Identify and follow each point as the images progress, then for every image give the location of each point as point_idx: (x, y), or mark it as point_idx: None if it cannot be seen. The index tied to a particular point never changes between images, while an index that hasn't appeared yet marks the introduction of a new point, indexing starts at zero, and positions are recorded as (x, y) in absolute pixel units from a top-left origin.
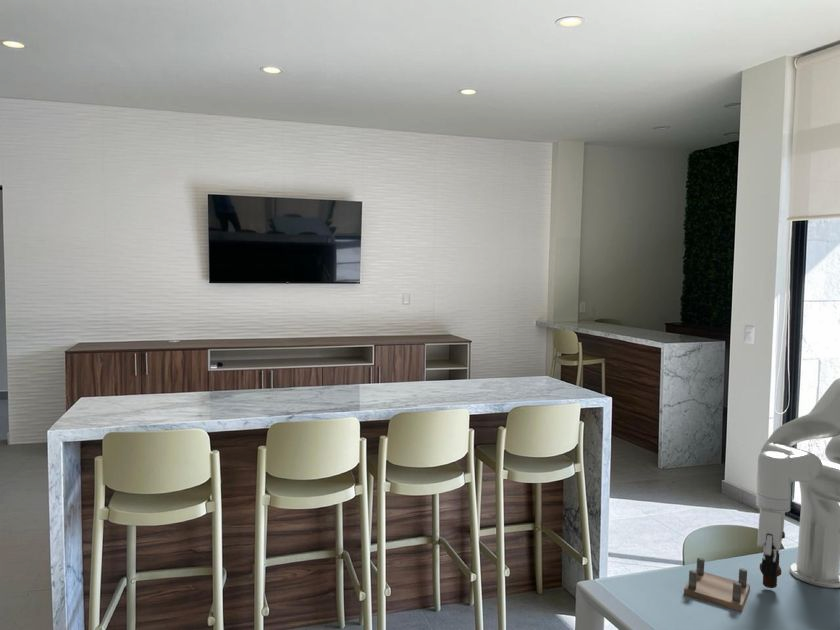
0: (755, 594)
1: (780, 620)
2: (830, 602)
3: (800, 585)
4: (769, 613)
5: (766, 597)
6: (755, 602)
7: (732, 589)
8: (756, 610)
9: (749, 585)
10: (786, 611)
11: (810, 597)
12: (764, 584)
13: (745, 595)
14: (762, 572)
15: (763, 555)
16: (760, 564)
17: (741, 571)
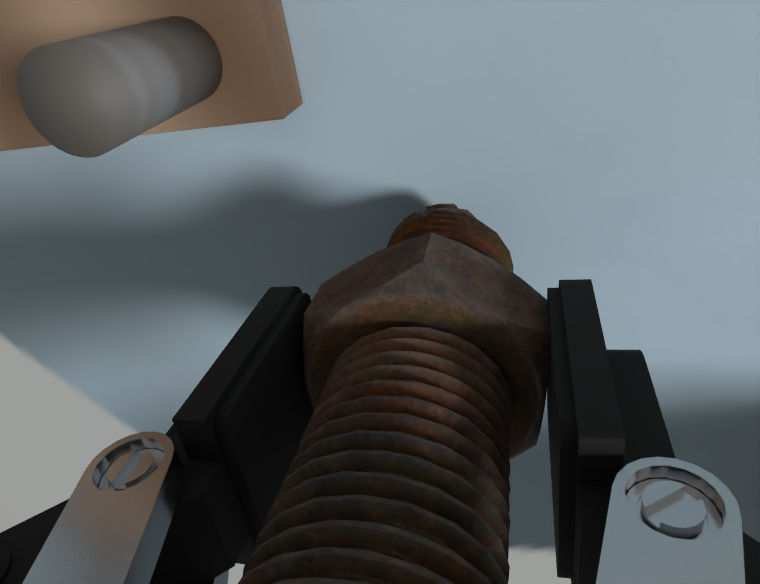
0: (264, 165)
1: (55, 357)
2: (544, 543)
3: (737, 413)
4: (71, 299)
5: (286, 245)
6: (128, 196)
7: (8, 3)
8: (24, 228)
9: (256, 119)
10: (196, 372)
11: (537, 466)
12: (399, 230)
13: (26, 144)
14: (268, 300)
15: (74, 505)
16: (390, 280)
17: (24, 89)
